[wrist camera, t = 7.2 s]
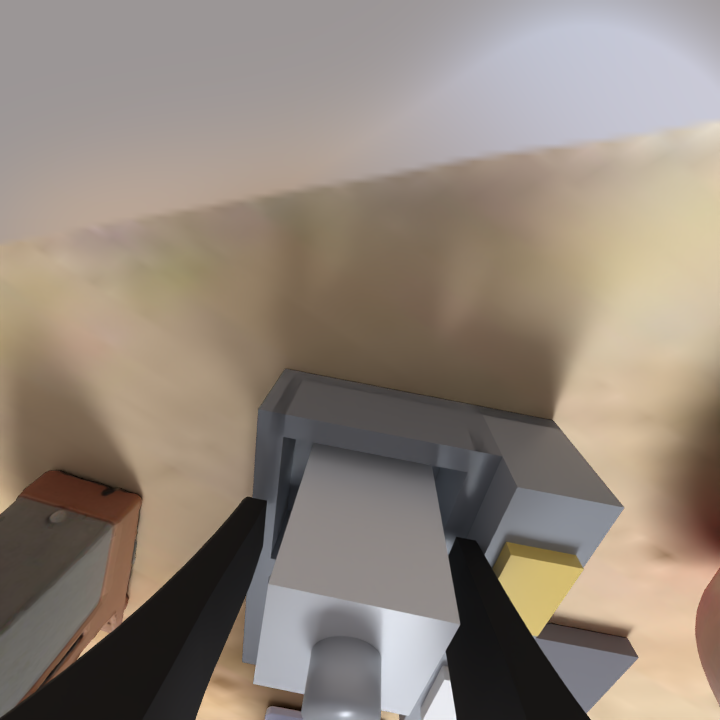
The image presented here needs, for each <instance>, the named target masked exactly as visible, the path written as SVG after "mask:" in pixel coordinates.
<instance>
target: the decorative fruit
mask: <svg viewBox="0 0 720 720" xmlns="http://www.w3.org/2000/svg"><path fill="white" fill-rule="evenodd" d="M695 635H696V642H697V648H698V653H699V657H700V660H701V664H702V667H703V669H704V672H705V674H706V677H707V680H708V682H709V685H710V687H711V689H712V691H713V693H714V695H715V697H716V699H717V702H718V704H719V706H720V568H719V570H718V571H717V573H716V574H715V576H714V577H713V579H712V580H711V582H710V583H709V584H708V586H707V587H706V589H705V590H704V593H703V595H702V597H701V600H700V603H699V606H698V609H697V614H696V626H695Z"/></svg>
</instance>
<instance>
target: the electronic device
mask: <svg viewBox="0 0 720 720" xmlns="http://www.w3.org/2000/svg"><path fill="white" fill-rule="evenodd" d="M141 504H142V500H141V497H140V496H139V495H137V494H135V493H129V492H126V491H125V490H123V489H122V488H114V489H111V488H110V487H108V486H106V485H104V484H101V483H97V482H93V481H88V480H84V479H81V478H78V477H76V476H72V475H69V474H66V473H65V472H63V471H51V470H50V471H48V472H45V473H44V474H43V475H42V476H41V477H39V478H38V479H37V480H36V481H34V482H33V483H32V484H30V485H29V486H28V487H27V488H25V489H24V490H23V492H22V493H21V494H20V495H19V496H18V497H17V499H16V501H15V502H14V503H13V504H12V505H10V506H9V507H8V508H7V509H6V510H5V511H4V512H3V513H1V514H0V717H2V716H3V715H4V714H6V713H7V712H8V711H10V710H11V709H13V708H14V707H15V706H17V705H18V704H19V703H21V702H22V701H23V700H25V699H26V698H27V697H29V696H30V695H31V694H33V693H34V692H36V691H37V690H38V689H40V688H41V687H42V686H44V685H45V684H46V683H48V682H49V681H50V680H52V679H53V678H54V677H56V676H57V675H58V674H60V673H61V672H62V671H64V670H65V669H66V668H67V667H69V666H70V665H71V664H73V663H74V662H75V661H76V660H77V659H78V657H79V655H80V653H81V652H82V651H83V649H84V648H85V647H86V646H87V645H88V644H89V642H90V641H91V640H92V639H93V638H94V637H95V636H96V635H97V633H98V632H99V631H100V630H102V631H105V632H109V633H111V632H112V631H113V630H114V629H116V628H117V627H118V626H119V625H120V624H121V623H122V618H123V612H124V610H125V609H126V607H127V604H128V597H127V596H126V593H127V586H128V582H129V578H130V573H131V565H132V564H134V561H135V558H136V557H135V554H136V553H135V552H136V546H137V542H136V539H135V537H136V534H137V523H138V517H139V509H140V507H141Z"/></svg>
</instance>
